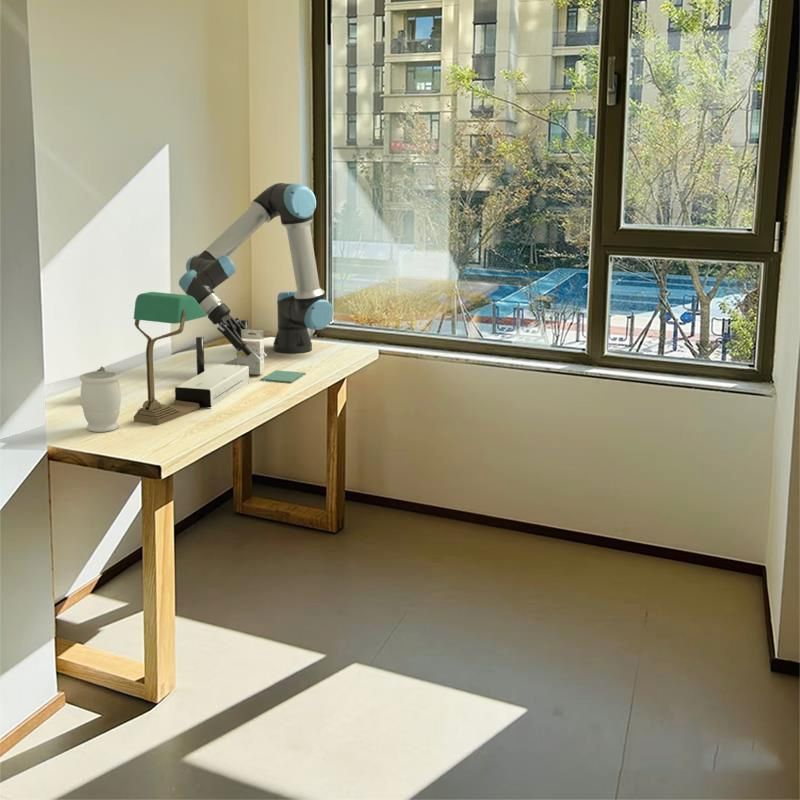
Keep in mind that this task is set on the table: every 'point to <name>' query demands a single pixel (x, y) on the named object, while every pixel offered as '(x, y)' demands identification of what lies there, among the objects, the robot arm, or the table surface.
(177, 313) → the banker's lamp
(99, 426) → the jar
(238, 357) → the ink cartridge box
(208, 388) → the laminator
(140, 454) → the table surface
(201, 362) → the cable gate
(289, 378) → the green mat
